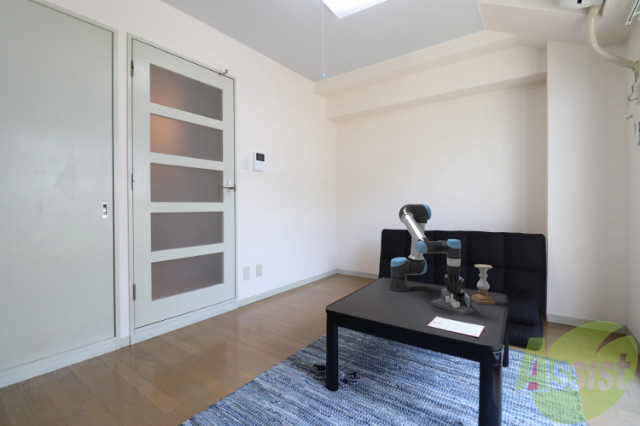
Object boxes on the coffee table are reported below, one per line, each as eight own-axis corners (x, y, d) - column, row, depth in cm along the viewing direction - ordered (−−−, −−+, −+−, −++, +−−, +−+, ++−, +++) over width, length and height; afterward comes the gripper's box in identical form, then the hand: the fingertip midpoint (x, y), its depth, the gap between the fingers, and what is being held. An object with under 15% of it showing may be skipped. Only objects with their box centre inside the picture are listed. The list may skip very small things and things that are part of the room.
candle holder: (487, 299, 193) (488, 264, 193) (496, 305, 182) (496, 267, 182) (470, 299, 194) (471, 263, 194) (477, 304, 183) (478, 267, 183)
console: (430, 304, 183) (430, 300, 183) (441, 301, 188) (441, 298, 188) (462, 315, 164) (462, 311, 164) (473, 312, 169) (473, 308, 169)
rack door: (467, 307, 175) (467, 296, 175) (464, 302, 185) (464, 292, 185) (472, 308, 175) (472, 297, 175) (469, 303, 184) (469, 292, 184)
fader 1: (445, 301, 181) (445, 296, 181) (448, 300, 183) (448, 295, 183) (448, 302, 179) (448, 297, 179) (452, 301, 180) (452, 296, 180)
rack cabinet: (441, 301, 189) (441, 288, 189) (451, 298, 194) (451, 287, 194) (454, 305, 180) (454, 292, 180) (464, 303, 185) (464, 290, 185)
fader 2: (452, 306, 171) (452, 301, 171) (455, 305, 173) (456, 300, 172) (456, 307, 169) (456, 302, 169) (459, 307, 170) (459, 301, 170)
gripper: (440, 263, 176) (439, 302, 176) (459, 267, 165) (458, 308, 165) (448, 262, 180) (447, 300, 180) (467, 266, 168) (467, 306, 168)
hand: (453, 304), depth 172 cm, fingers closed
